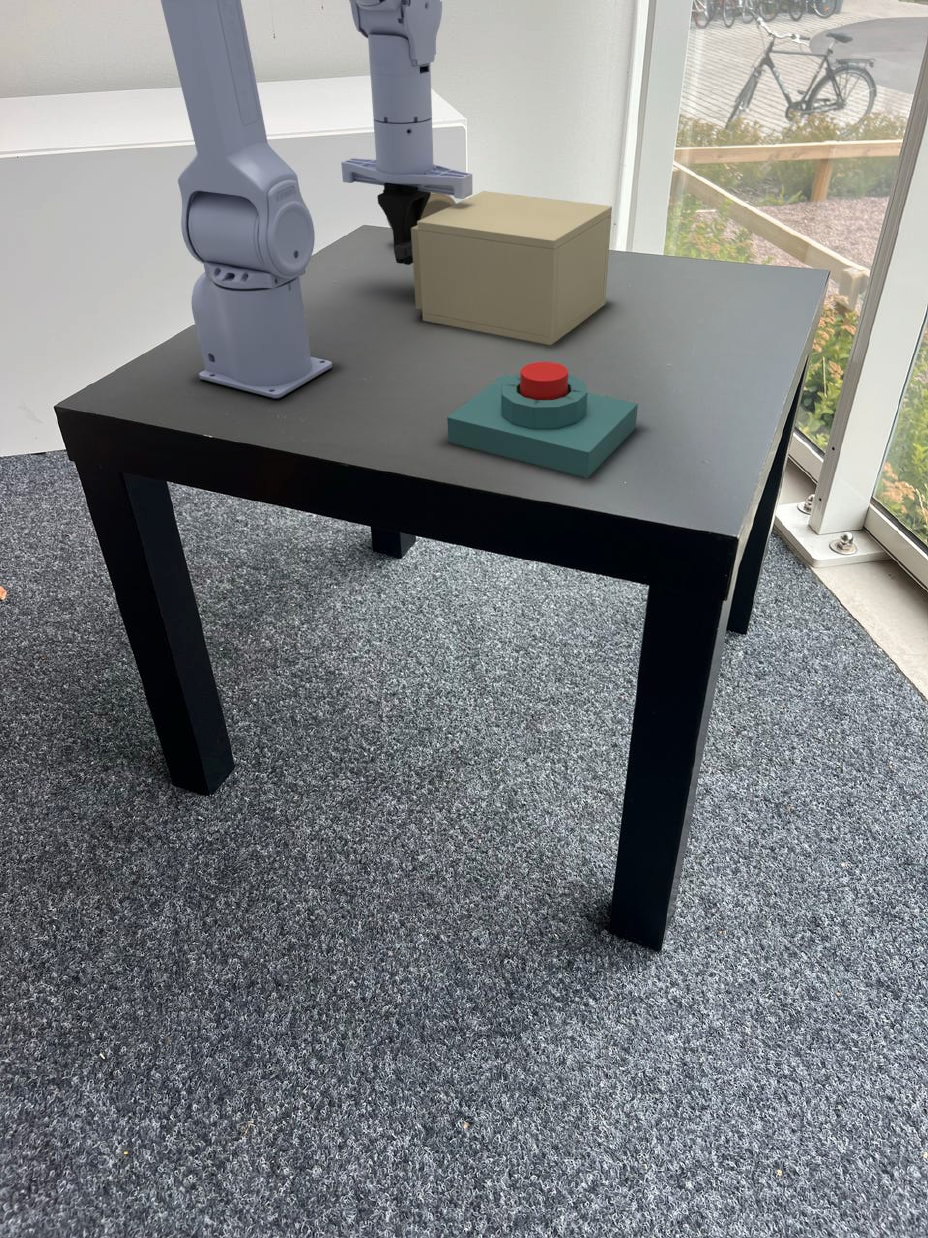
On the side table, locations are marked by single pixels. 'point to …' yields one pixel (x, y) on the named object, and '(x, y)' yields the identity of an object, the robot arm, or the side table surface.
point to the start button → (544, 381)
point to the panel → (544, 426)
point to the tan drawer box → (514, 265)
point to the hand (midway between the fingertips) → (409, 261)
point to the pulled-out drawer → (412, 249)
